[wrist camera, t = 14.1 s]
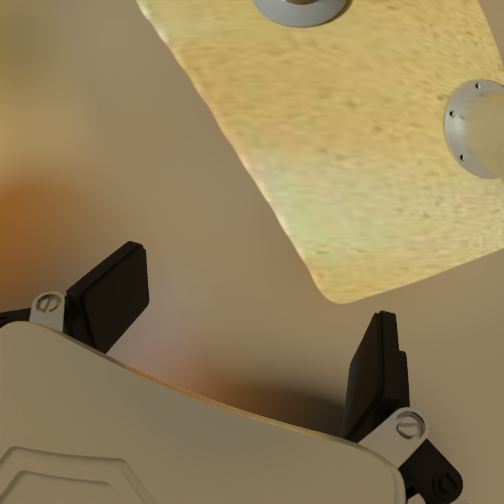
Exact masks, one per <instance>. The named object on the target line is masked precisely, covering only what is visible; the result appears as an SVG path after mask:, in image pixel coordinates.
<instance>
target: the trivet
mask: <svg viewBox="0 0 504 504" xmlns="http://www.w3.org/2000/svg"><path fill="white" fill-rule="evenodd" d="M346 1H347V0H318V1H316V2H314V3H312V4H307V5H296V4H292V3H289V2H287V1H286V0H253V2H254V4H255V5H256V7H257V8H258V9H259V11H261V12H262V13H263V14H264V15H265V16H266V17H268V18H269V19H271V20H272V21H274V22H276V23H279V24H281V25H285V26H289V27H297V28H305V27H313V26H317V25H320V24H323V23H325V22H327V21H329V20H331V19H332V18H334V17H335V16H336V15H337V14H338V13H339V12H340V11H341V10H342V9H343V7H344V5H345V4H346Z"/></svg>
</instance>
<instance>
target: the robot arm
mask: <svg viewBox="0 0 504 504" xmlns="http://www.w3.org/2000/svg"><path fill="white" fill-rule="evenodd" d="M475 84H476V85H477V88H476V87H475ZM449 112H452V115H451V116H450V115H449ZM443 124H444V133H445V137H446V142H447V144H448V147H449V149H450V151H451V153H452V154H453V156H454V158H455V159H456V160H457V161H458V163H459V164H460V165H461V166H462V167H463V168H465V169H466V170H467V171H469V172H470V173H472V174H473V175H476V176H478V177H481V178H486V179H496V178H501V179H502V180H504V87H503V86H501V85H499V84H498V83H495V82H493V81H490V80H483V79H480V80H472V81H468V82H466V83H464V84H462V85H460V86H459V87H458V88H457V89H456V90H455V91H454V92H453V94H452V95H451V96H450V98H449V100H448V102H447V105H446V108H445V112H444V123H443ZM461 155H462V158H461V159H460V156H461ZM66 293H67V295H66V296H65V297H63V295H62V294H60V293H58V292H46V293H43V294H41V295H40V296H38V297H37V298H36V299H35V300H34V302H33V304H32V308H27V309H21V310H15V311H8V312H2V313H0V504H468V502H467V500H466V499H464V500H463V499H462V497H461V495H460V494H461V492H462V489H463V481H462V478H461V475H460V474H459V472H458V471H457V470H456V469H455V468H454V467H453V466H452V465H451V464H450V463H449V462H448V460H446V458H445V457H444V456H443V455H442V454H441V453H440V452H439V451H438V450H437V449H436V448H435V447H434V446H433V445H432V444H431V442H430V441H429V440H428V439H427V436H428V434H429V423H428V421H427V419H426V417H425V416H424V415H423V414H422V413H421V412H420V411H418V410H417V409H414V408H410V401H409V383H408V369H407V357H406V353H405V352H404V351H400V350H399V344H398V332H397V322H396V315H395V314H394V313H390V312H386V311H380V313H379V314H378V313H375V314H374V316H373V317H372V320H371V322H370V324H369V326H368V328H367V330H366V332H365V335H364V337H363V339H362V341H361V343H360V345H359V347H358V349H357V351H356V353H355V355H354V357H353V359H352V361H351V364H350V368H349V377H348V387H347V395H346V403H345V411H344V418H343V425H342V431H341V438H339V437H335V436H331V435H328V434H324V433H321V432H316V431H312V430H309V429H304V428H301V427H297V426H294V425H290V424H286V423H283V422H279V421H276V420H272V419H269V418H266V417H262V416H259V415H255V414H252V413H249V412H246V411H243V410H240V409H237V408H234V407H231V406H228V405H225V404H222V403H219V402H216V401H213V400H211V399H208V398H205V397H202V396H200V395H197V394H195V393H192V392H189V391H187V390H184V389H181V388H179V387H177V386H174V385H172V384H169V383H167V382H164V381H162V380H159V379H157V378H155V377H153V376H150V375H148V374H146V373H144V372H141V371H139V370H137V369H135V368H133V367H130V366H128V365H126V364H124V363H122V362H120V361H117V360H116V359H113V358H111V357H109V356H107V355H105V354H106V353H107V352H108V351H109V350H110V348H111V347H112V346H113V345H114V344H115V343H116V341H117V340H118V339H119V338H120V337H121V336H122V335H123V333H124V332H125V331H126V330H127V329H128V328H129V326H130V325H131V324H132V323H133V322H134V321H135V320H136V318H137V317H138V316H139V315H140V314H141V313H142V312H143V311H144V309H145V308H146V307H147V306H148V303H149V290H148V276H147V261H146V250H145V249H144V248H143V246H142V245H141V244H139V243H135V242H132V241H129V242H127V243H126V244H124V245H123V246H122V247H120V248H119V249H118V250H116V251H115V252H114V253H112V254H111V255H110V256H109V257H107V258H106V259H105V260H104V261H102V262H101V263H100V264H99V265H97V266H96V267H95V268H93V269H92V270H91V271H90V272H89V273H87V274H86V275H85V276H84V277H82V278H81V279H80V280H79V281H77V282H76V283H75V284H74V285H73V286H71V287H70V288H69V289H68V290H67V291H66Z"/></svg>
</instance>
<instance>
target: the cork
mask: <svg viewBox="0 0 504 504" xmlns="http://www.w3.org/2000/svg"><path fill="white" fill-rule="evenodd" d="M286 1H287V2H289V3H292V4H296V5H307V4H312V3H314V2H316V1H318V0H286Z"/></svg>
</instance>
